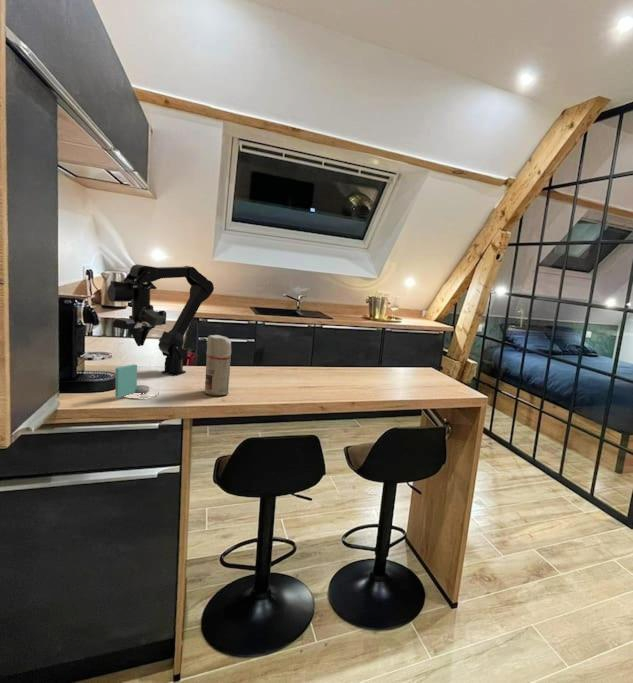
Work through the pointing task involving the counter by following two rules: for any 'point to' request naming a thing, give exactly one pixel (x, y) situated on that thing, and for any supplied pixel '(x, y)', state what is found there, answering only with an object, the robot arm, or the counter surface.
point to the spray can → (217, 365)
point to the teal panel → (128, 381)
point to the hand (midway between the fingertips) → (140, 345)
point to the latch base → (149, 393)
